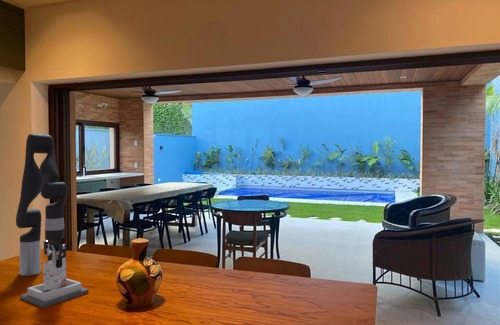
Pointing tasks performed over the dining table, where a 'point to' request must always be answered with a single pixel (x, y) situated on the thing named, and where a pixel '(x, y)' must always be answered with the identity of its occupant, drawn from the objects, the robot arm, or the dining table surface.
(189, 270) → the dining table surface
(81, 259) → the dining table surface
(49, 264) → the ink cartridge box
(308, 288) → the dining table surface
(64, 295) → the cartridge holder
